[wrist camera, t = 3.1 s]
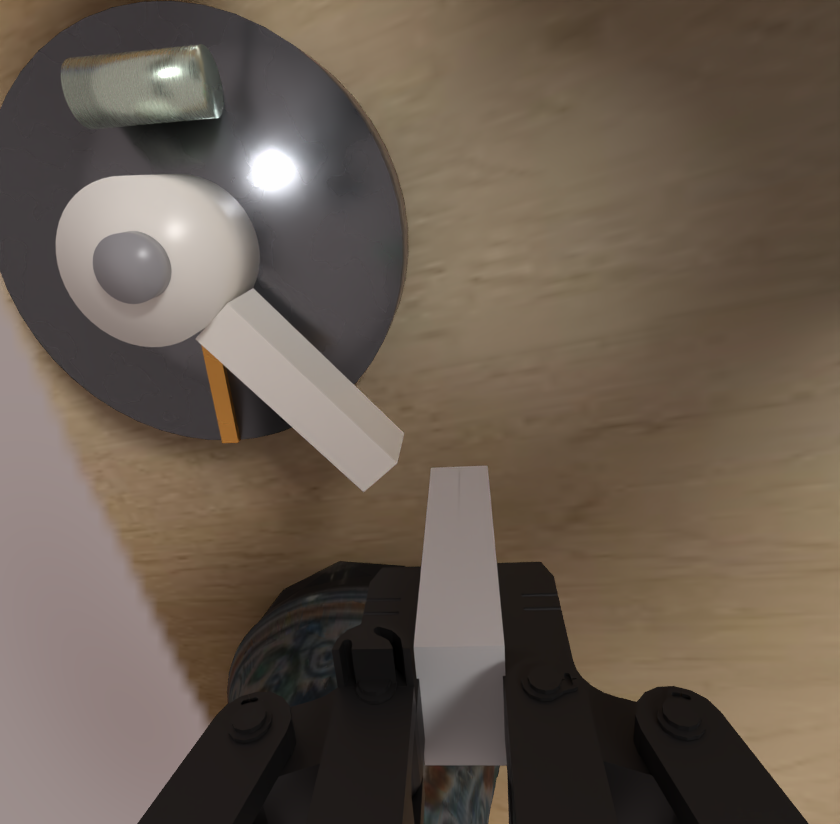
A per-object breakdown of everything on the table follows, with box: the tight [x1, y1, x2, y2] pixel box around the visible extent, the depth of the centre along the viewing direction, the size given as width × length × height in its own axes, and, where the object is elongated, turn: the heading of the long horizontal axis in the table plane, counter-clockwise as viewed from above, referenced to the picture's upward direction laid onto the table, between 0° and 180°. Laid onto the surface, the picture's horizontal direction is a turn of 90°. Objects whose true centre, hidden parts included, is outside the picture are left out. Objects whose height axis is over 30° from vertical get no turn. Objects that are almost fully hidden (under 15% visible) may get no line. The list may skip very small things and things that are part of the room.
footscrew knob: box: [56, 174, 404, 492], centre depth 24 cm, size 15×6×5 cm, turn 44°
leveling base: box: [0, 1, 408, 443], centre depth 26 cm, size 18×18×5 cm
